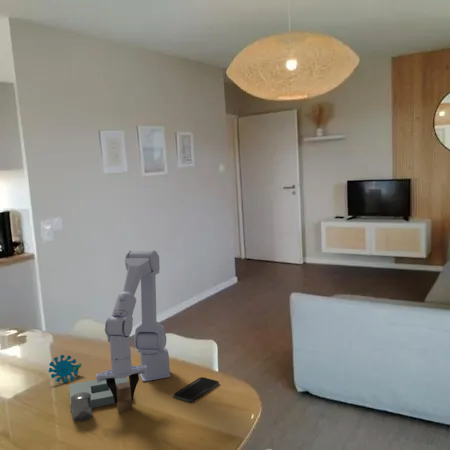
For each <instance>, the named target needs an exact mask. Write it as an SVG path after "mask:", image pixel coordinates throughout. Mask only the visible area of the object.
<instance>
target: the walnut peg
mask: <svg viewBox="0 0 450 450" xmlns="http://www.w3.org/2000/svg"><path fill="white" fill-rule="evenodd" d="M116 395H117V403H116V409H117V412H118V413H123V412H128V411H133V403H132V402H133V400H131V387H130V383H129V381H128V382H124V383H118V384H116Z"/></svg>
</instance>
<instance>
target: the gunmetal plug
mask: <svg viewBox="0 0 450 450" xmlns="http://www.w3.org/2000/svg"><path fill="white" fill-rule="evenodd" d="M71 409H72V412H71V417H72V419H71V420H73V422H77V423H78V422H85V421H88V420H90V419H91V418H92V417H93V410H92V409H93V408H92V406H91V395H90V393H86V392H82V393H77V394H75V395H73V396H72V397H71V405H70V410H71Z"/></svg>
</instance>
